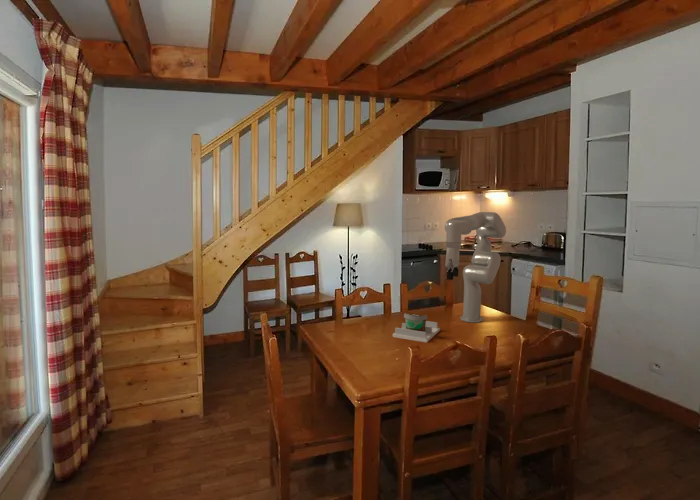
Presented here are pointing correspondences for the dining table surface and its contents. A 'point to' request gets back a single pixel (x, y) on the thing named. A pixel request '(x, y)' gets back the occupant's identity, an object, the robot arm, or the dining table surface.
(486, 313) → the dining table surface
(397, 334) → the rack
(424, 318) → the food container
